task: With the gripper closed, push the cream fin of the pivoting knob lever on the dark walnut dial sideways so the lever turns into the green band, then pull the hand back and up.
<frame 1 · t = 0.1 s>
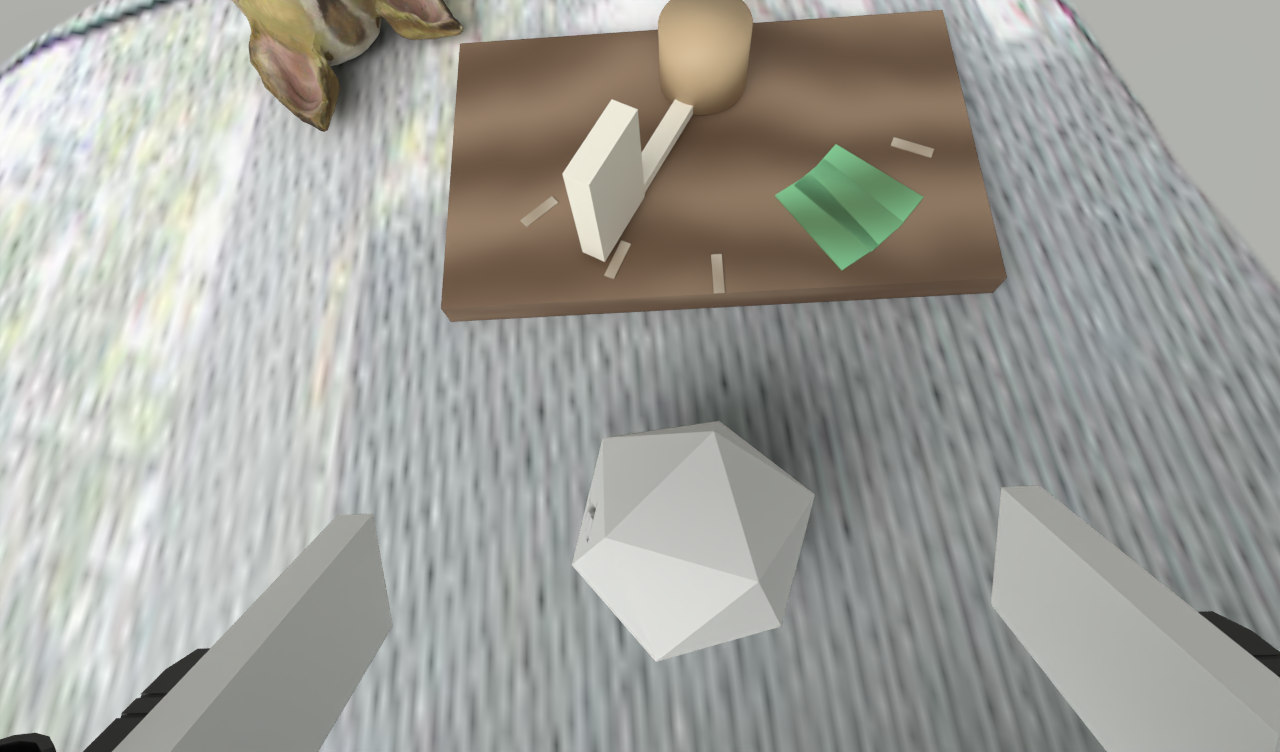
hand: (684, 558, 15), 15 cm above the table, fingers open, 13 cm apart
knob lever: (659, 105, 32), point 5 cm above the table, hinge at -30.0°
die: (689, 543, 30), on the table
ceramic sculpture: (338, 39, 41), on the table
dial plate: (706, 168, 36), on the table
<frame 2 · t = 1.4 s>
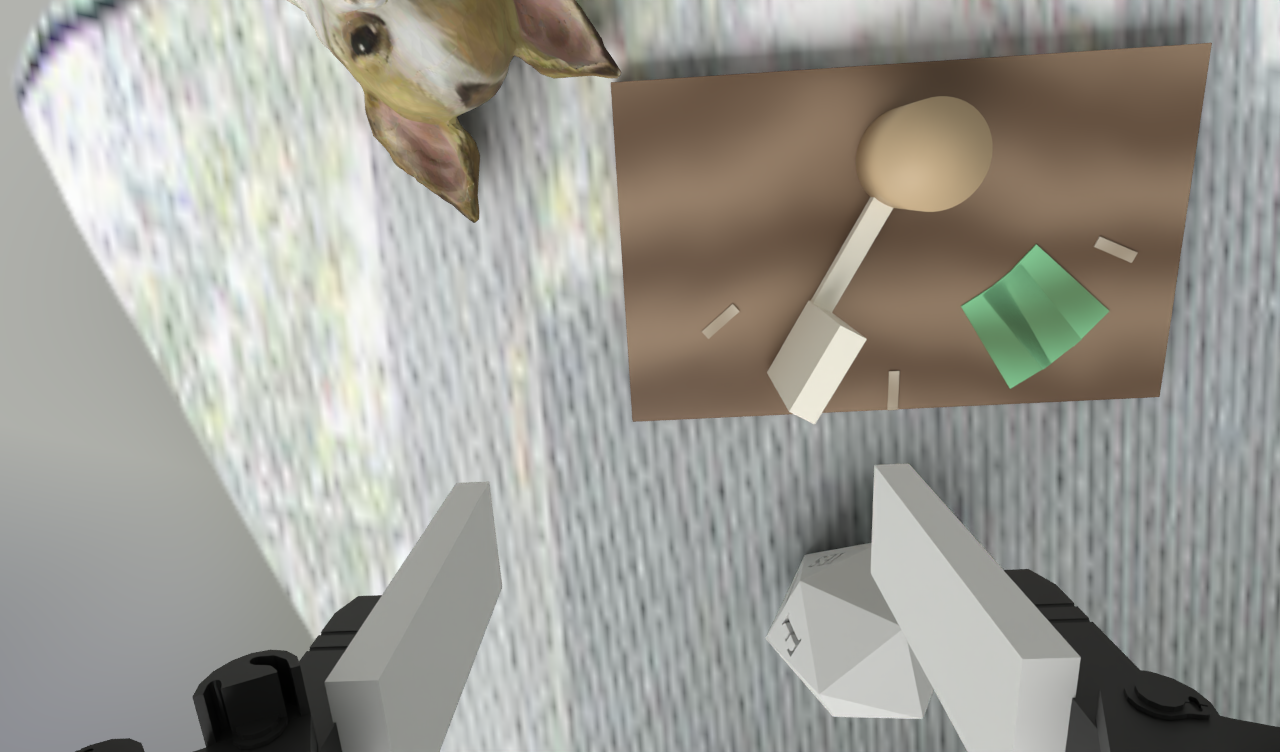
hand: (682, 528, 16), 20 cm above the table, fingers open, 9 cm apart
knob lever: (869, 258, 30), point 5 cm above the table, hinge at -30.0°
die: (839, 585, 40), on the table
ceramic sculpture: (441, 31, 32), on the table
dial plate: (888, 244, 34), on the table
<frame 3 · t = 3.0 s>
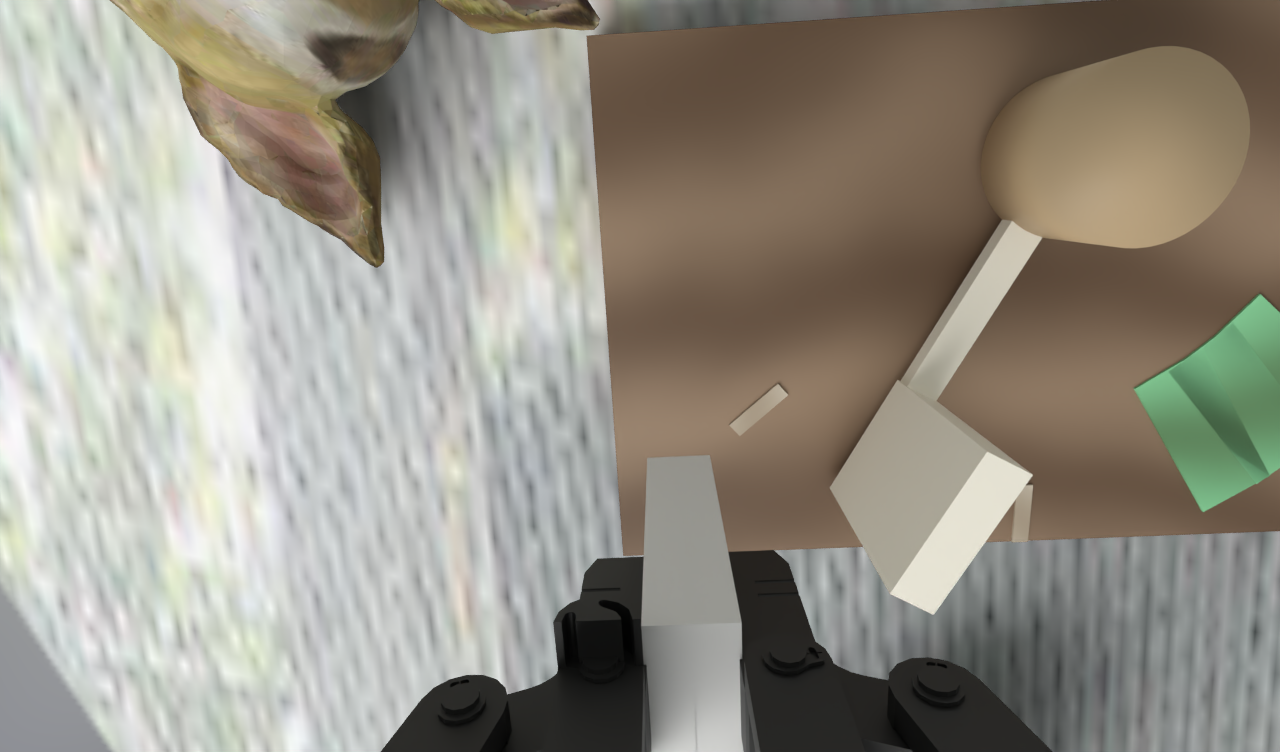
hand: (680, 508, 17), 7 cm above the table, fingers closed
knob lever: (1017, 324, 18), point 5 cm above the table, hinge at -30.0°
dial plate: (1016, 291, 22), on the table
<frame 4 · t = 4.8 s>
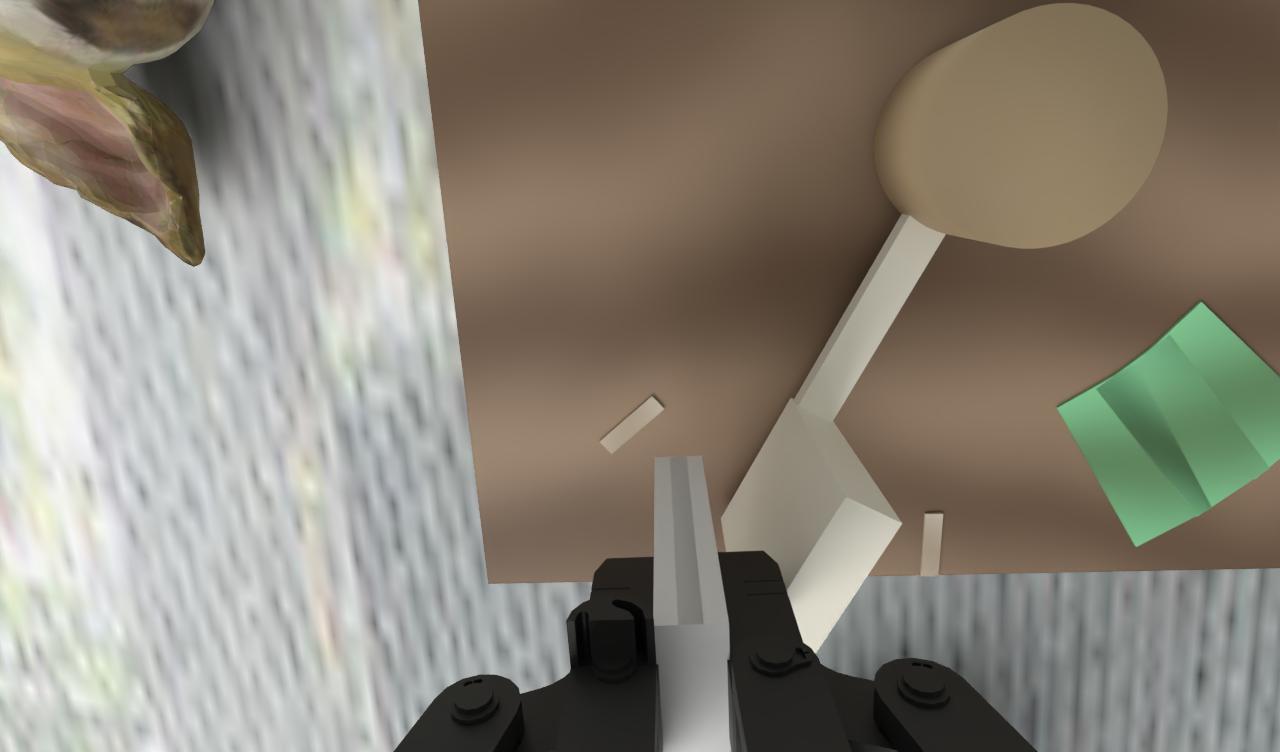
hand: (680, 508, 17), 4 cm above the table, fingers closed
knob lever: (904, 338, 15), point 5 cm above the table, hinge at -28.6°, touching gripper
dial plate: (928, 294, 20), on the table
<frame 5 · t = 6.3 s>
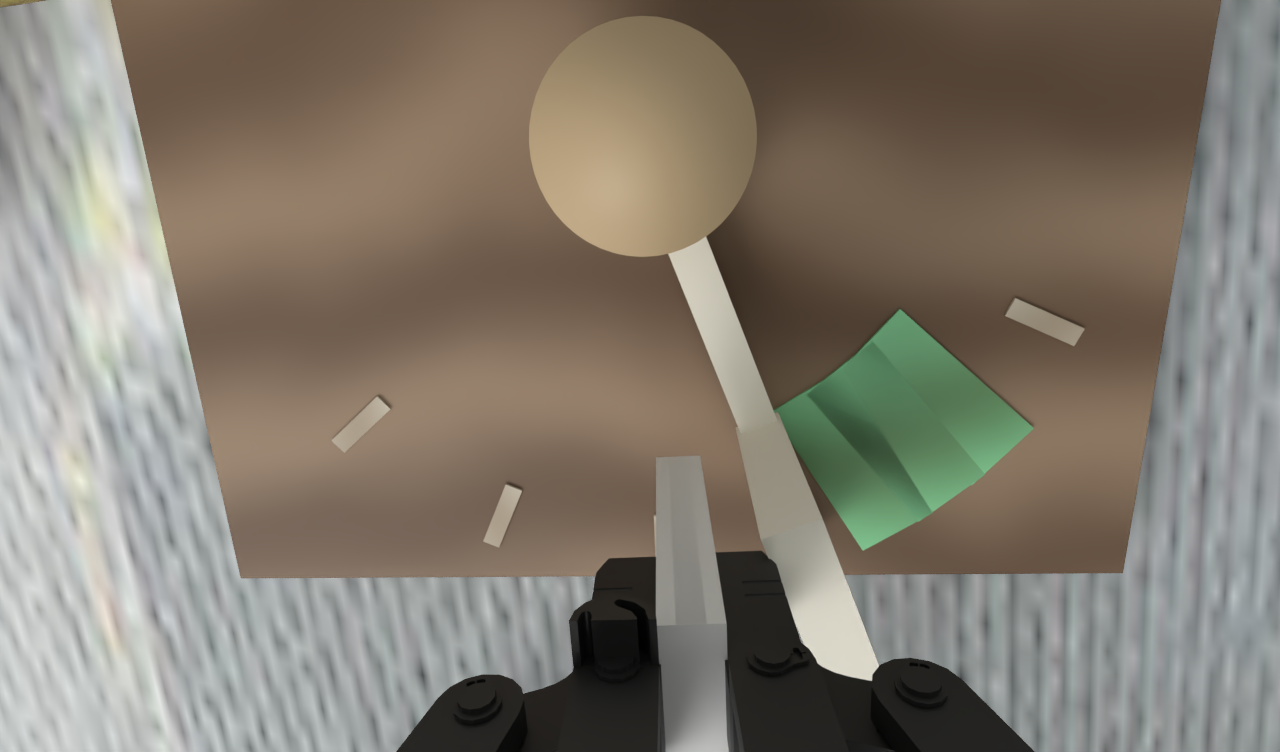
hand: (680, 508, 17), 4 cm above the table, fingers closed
knob lever: (725, 351, 15), point 5 cm above the table, hinge at 20.5°, touching gripper
dial plate: (657, 298, 20), on the table
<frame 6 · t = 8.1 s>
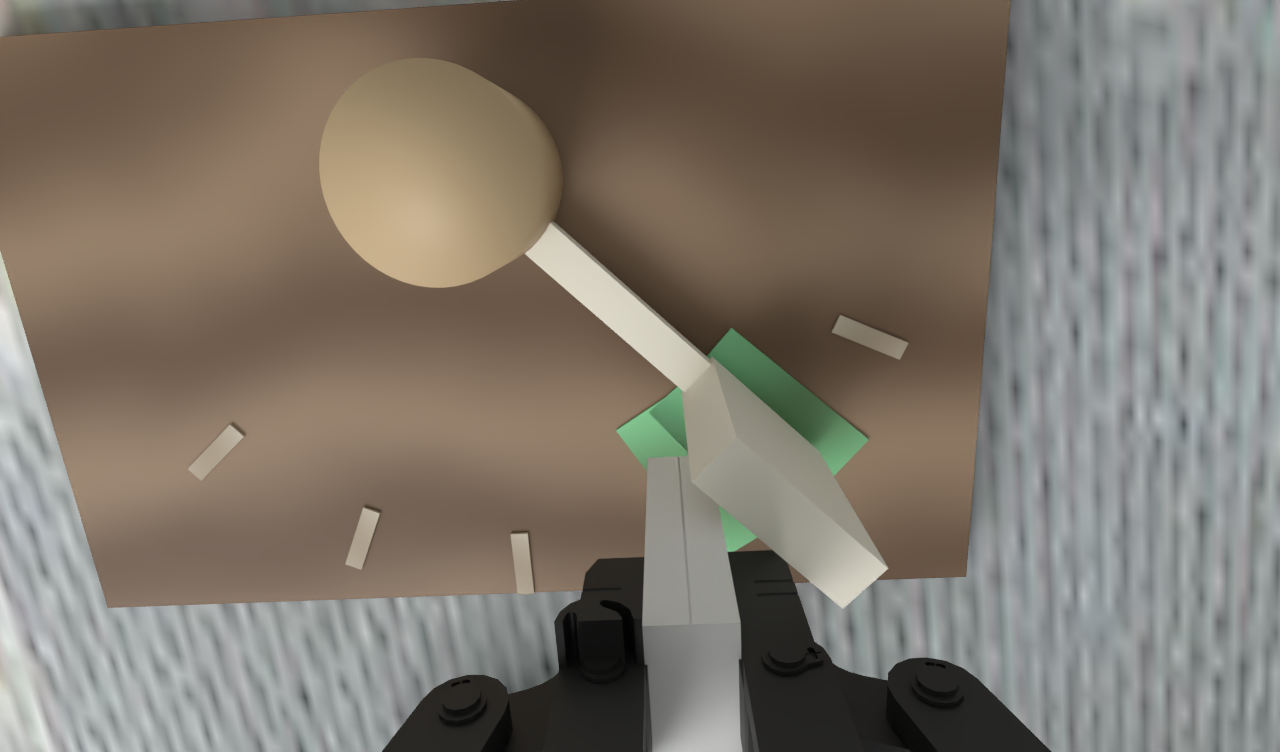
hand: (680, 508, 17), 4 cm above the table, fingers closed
knob lever: (607, 324, 15), point 5 cm above the table, hinge at 45.2°, touching gripper
dial plate: (508, 321, 20), on the table
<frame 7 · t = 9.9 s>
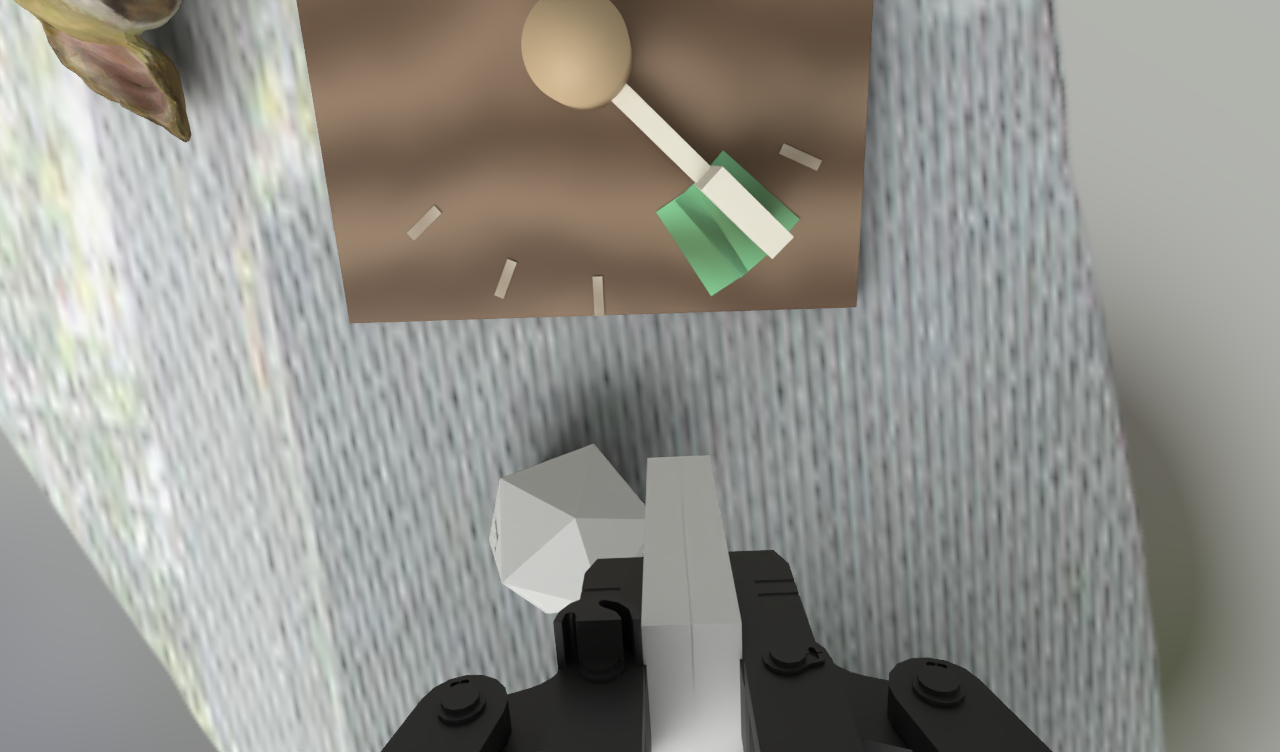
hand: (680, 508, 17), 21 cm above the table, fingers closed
knob lever: (659, 129, 30), point 5 cm above the table, hinge at 45.3°
die: (578, 494, 41), on the table
dial plate: (593, 151, 35), on the table
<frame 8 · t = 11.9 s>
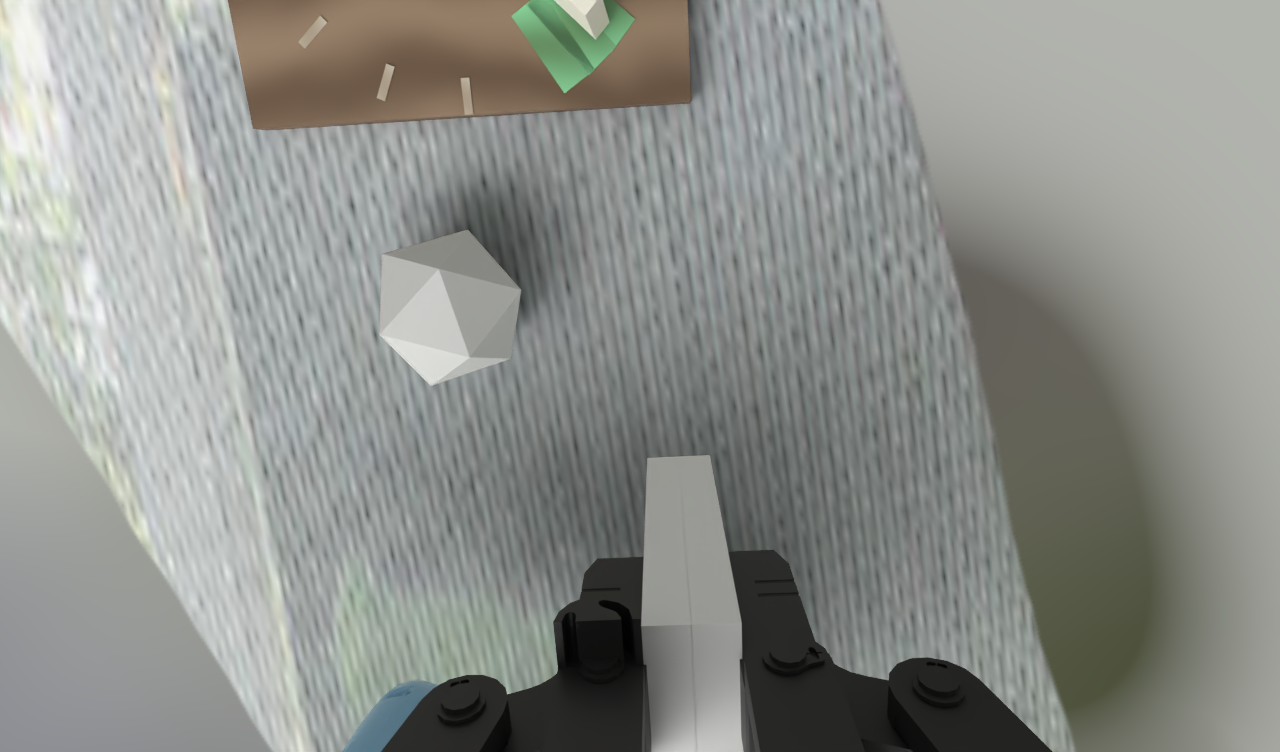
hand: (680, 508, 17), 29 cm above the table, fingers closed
die: (466, 297, 46), on the table
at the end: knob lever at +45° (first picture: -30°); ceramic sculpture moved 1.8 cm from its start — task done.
